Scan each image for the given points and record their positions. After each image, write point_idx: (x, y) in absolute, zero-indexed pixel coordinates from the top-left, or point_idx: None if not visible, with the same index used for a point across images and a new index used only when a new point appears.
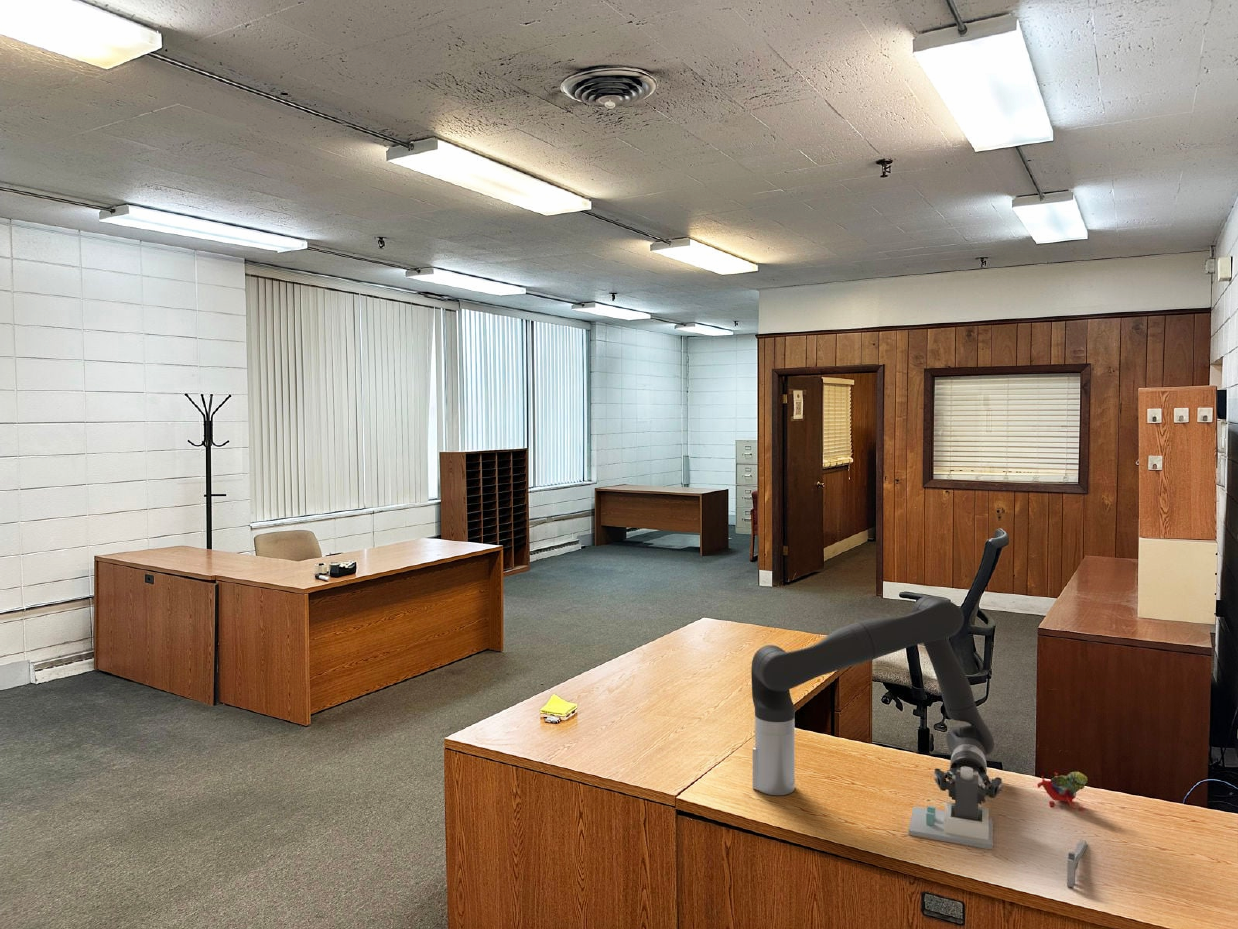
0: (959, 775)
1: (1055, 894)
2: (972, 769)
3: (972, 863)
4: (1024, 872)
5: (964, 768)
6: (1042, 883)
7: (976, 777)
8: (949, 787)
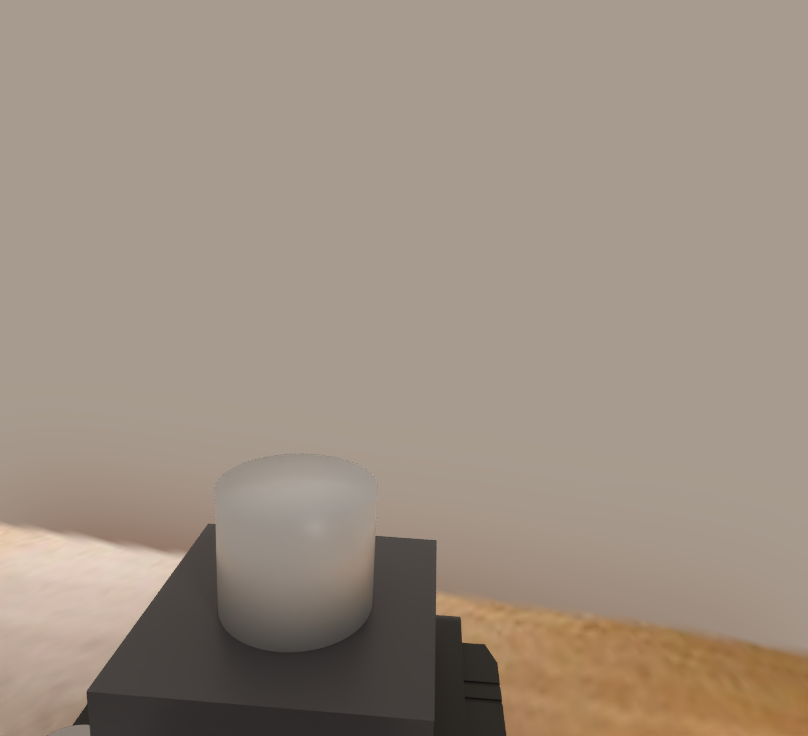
0: (382, 644)
1: (74, 549)
2: (226, 477)
3: None
4: (107, 638)
5: (328, 485)
6: (77, 589)
7: (150, 638)
8: (492, 701)
